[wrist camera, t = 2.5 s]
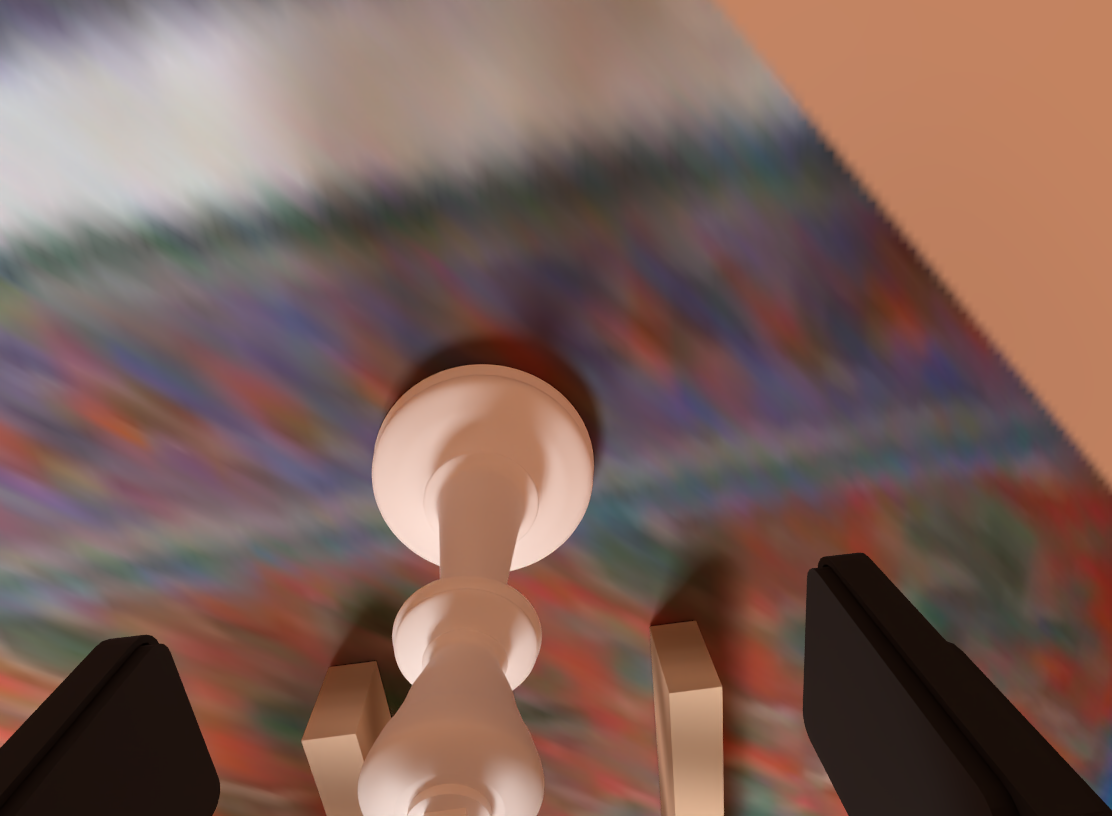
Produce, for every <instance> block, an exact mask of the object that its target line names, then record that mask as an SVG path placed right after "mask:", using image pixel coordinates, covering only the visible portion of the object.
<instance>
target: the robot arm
mask: <svg viewBox="0 0 1112 816" xmlns="http://www.w3.org/2000/svg"><path fill="white" fill-rule="evenodd" d="M803 718H804V723H805V727H806V731H807V734H808V736H809V739H810V741H811V743H812V745H813V747H814V749H815V751H816V753H817V755H818V757H819V759H820V761H821V763H822V764H823V766H824V768H825V770H826V772H827V774H828V776H829V778H830V780H831V782H832V784H833V786H834V788H835V790H836V792H837V794H838V796H839V798H840V800H841V802H842V804H843V806H844V808H845V810H846V812H847V813H848V815H849V816H1112V810H1111V809H1110V808H1109V807H1108V806H1107V805H1106V804H1105V803H1104V802H1103V800H1102V799H1101V798H1100V797H1099V796H1098V795H1097V794H1096V793H1095V792H1094V791H1093V790H1092V789H1091V788H1090V787H1089V786H1088V784H1087V783H1086V782H1085V781H1084V780H1083V779H1082V778H1081V777H1080V776H1079V775H1078V774H1077V773H1076V772H1075V771H1074V770H1073V768H1072V767H1071V766H1070V765H1069V764H1068V763H1067V762H1066V761H1065V760H1064V759H1063V758H1062V757H1061V756H1060V755H1059V754H1058V752H1057V751H1056V750H1055V749H1054V748H1053V747H1052V746H1051V745H1050V744H1049V743H1048V742H1047V741H1046V740H1045V739H1044V738H1043V736H1042V735H1041V734H1040V733H1039V732H1038V731H1037V730H1036V729H1035V728H1034V727H1033V726H1032V725H1031V724H1030V723H1029V722H1028V720H1027V719H1026V718H1025V717H1024V716H1023V715H1022V714H1021V713H1020V712H1019V711H1018V710H1017V709H1016V708H1015V707H1014V706H1013V704H1012V703H1011V702H1010V701H1009V700H1008V699H1007V698H1006V697H1005V696H1004V695H1003V694H1002V693H1001V692H1000V691H999V690H998V688H997V687H996V686H995V685H994V684H993V683H992V682H991V681H990V680H989V679H988V678H987V677H986V676H985V675H984V674H983V672H982V671H981V670H980V669H979V668H978V667H977V666H976V665H975V664H974V663H973V662H972V661H971V660H970V659H969V658H968V656H967V655H966V654H965V653H964V652H963V651H961V650H960V649H959V648H958V647H957V646H956V645H954V644H952V643H950V642H947V641H946V640H945V639H944V638H943V637H942V636H941V635H940V634H939V633H938V632H937V631H936V629H935V628H934V627H933V626H932V625H931V624H930V623H929V622H928V621H927V620H926V619H925V618H924V616H923V615H922V614H921V613H920V612H919V611H918V610H917V609H916V608H915V607H914V606H913V605H912V603H911V602H910V601H909V600H908V599H907V598H906V597H905V596H904V595H903V594H902V593H901V592H900V590H899V589H898V588H897V587H896V586H895V585H894V584H893V583H892V582H891V581H890V580H889V579H888V577H887V576H886V575H885V574H884V573H883V572H882V571H881V570H880V569H879V568H878V567H877V566H876V564H875V563H874V562H873V561H872V560H871V559H870V558H869V557H868V556H867V555H865V554H864V553H852V554H844V555H835V556H826V557H822V558H821V559H820V561H819V563H818V568H812V569H810V570H809V572H808V575H807V598H806V628H805V659H804V690H803ZM219 794H220V782H219V778H218V775H217V773H216V770H215V767H214V765H213V762H212V759H211V757H210V754H209V752H208V749H207V746H206V744H205V741H204V739H203V736H202V733H201V731H200V728H199V726H198V723H197V720H196V718H195V715H194V713H193V710H192V707H191V705H190V702H189V700H188V697H187V694H186V692H185V689H184V686H183V684H182V681H181V679H180V676H179V673H178V671H177V668H176V666H175V663H174V660H173V658H172V655H171V653H170V651H169V649H168V647H167V646H166V645H164V644H159V643H158V641H157V639H155V638H154V637H153V636H150V635H140V636H131V637H123V638H114V639H108V640H105V641H102V642H101V643H100V644H99V645H97V646H96V647H95V648H94V649H93V650H92V651H91V652H90V653H89V655H88V656H87V657H86V658H85V659H84V660H83V661H82V662H81V663H80V664H79V665H78V666H77V667H76V668H75V669H74V670H73V672H72V673H71V674H70V675H69V676H68V677H67V678H66V679H65V680H64V681H63V682H62V683H61V684H60V685H59V686H58V687H57V688H56V690H55V691H54V692H53V693H52V694H51V695H50V696H49V697H48V698H47V699H46V700H45V701H44V702H43V703H42V704H41V705H40V707H39V708H38V709H37V710H36V711H35V712H34V713H33V714H32V715H31V716H30V717H29V718H28V719H27V720H26V721H25V722H24V723H23V725H22V726H21V727H20V728H19V729H18V730H17V731H16V732H15V733H14V734H13V735H12V736H11V737H10V738H9V739H8V740H7V742H6V743H5V744H4V745H3V746H2V747H1V748H0V816H212V815H213V813H214V811H215V809H216V806H217V804H218V800H219Z"/></svg>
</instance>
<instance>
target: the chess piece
mask: <svg viewBox="0 0 1112 816" xmlns="http://www.w3.org/2000/svg"><path fill="white" fill-rule="evenodd" d="M593 472H594V457H593V449H592V444H591V440H590V437H589V434H588V431H587V429H586V427H585V424H584V422H583V421H582V419H581V417H580V415H579V414H578V412H577V411H576V410H575V408H574V407H573V406H572V404H571V403H570V402H569V401H568V400H567V399H566V398H565V397H564V396H563V395H562V394H561V393H560V392H559V391H557V390H556V389H555V388H554V387H552V386H551V385H549V384H548V383H546V382H545V381H543V380H541V379H540V378H538V377H536V376H534V375H531V374H529V373H527V372H524V371H521V370H518V369H514V368H511V367H506V366H500V365H490V364H475V365H465V366H459V367H455V368H451V369H447V370H444V371H441V372H439V373H436V374H434V375H432V376H430V377H428V378H426V379H424V380H422V381H421V382H419V383H417V384H416V385H415V386H413V387H412V388H411V389H409V390H408V391H407V392H406V393H405V394H404V395H403V396H402V397H401V398H400V399H399V400H398V401H397V402H396V403H395V404H394V406H393V407H392V408H391V410H390V411H389V412H388V414H387V416H386V417H385V419H384V421H383V423H382V425H381V428H380V430H379V433H378V436H377V439H376V443H375V449H374V456H373V463H372V485H373V491H374V495H375V499H376V502H377V505H378V508H379V510H380V512H381V514H382V516H383V518H384V520H385V522H386V523H387V525H388V526H389V528H390V529H391V530H392V532H393V533H394V534H395V535H396V537H397V538H398V539H399V540H400V541H401V542H402V543H403V544H404V545H406V546H407V547H408V548H409V549H410V550H412V551H413V552H414V553H416V554H417V555H419V556H421V557H422V558H424V559H426V560H428V561H430V562H432V563H434V564H436V565H439V566H440V579H439V580H436V581H434V582H431V583H429V584H427V585H425V586H423V587H422V588H420V589H419V590H417V591H416V592H415V593H413V594H412V595H411V596H410V597H409V598H408V599H407V600H406V601H405V603H404V604H403V605H402V607H401V608H400V610H399V612H398V614H397V616H396V618H395V621H394V625H393V631H392V641H393V647H394V653H395V658H396V662H397V664H398V667H399V669H400V671H401V672H402V674H403V675H404V677H405V678H406V679H407V680H408V681H409V682H410V683H411V684H412V686H411V688H410V690H409V692H408V694H407V697H406V699H405V700H404V702H403V703H402V705H401V706H400V708H399V709H398V711H397V712H396V714H395V715H394V716H393V717H392V718H391V719H390V720H389V722H388V723H387V724H386V725H385V727H384V728H383V730H382V731H381V733H380V735H379V736H378V738H377V739H376V741H375V742H374V744H373V746H372V747H371V749H370V751H369V753H368V755H367V757H366V759H365V761H364V763H363V766H362V768H361V772H360V775H359V780H358V800H359V805H360V808H361V811H362V814H363V816H537V814H538V812H539V810H540V807H541V804H542V801H543V796H544V788H545V782H544V773H543V768H542V764H541V760H540V757H539V754H538V752H537V749H536V746H535V744H534V741H533V739H532V736H531V734H530V732H529V730H528V728H527V726H526V725H525V723H524V722H523V720H522V718H521V715H520V713H519V711H518V708H517V706H516V702H515V698H514V694H513V691H512V690H514V689H515V688H516V687H518V686H519V685H520V684H521V683H522V682H523V681H524V680H525V679H526V678H527V676H528V675H529V674H530V672H531V670H532V668H533V666H534V664H535V662H536V658H537V656H538V654H539V651H540V647H541V642H542V629H541V624H540V620H539V617H538V615H537V613H536V611H535V609H534V607H533V606H532V605H531V603H530V602H529V601H528V600H527V599H526V598H525V597H524V596H523V595H522V594H521V593H520V592H519V591H517V590H516V589H514V588H513V587H511V586H510V585H508V584H507V581H508V577H509V572H510V571H512V570H516V569H520V568H523V567H526V566H528V565H531V564H533V563H535V562H537V561H539V560H541V559H543V558H544V557H546V556H548V555H549V554H551V553H552V552H553V551H555V550H556V549H557V548H558V547H560V546H561V545H562V544H563V543H564V542H565V541H566V540H567V539H568V538H569V537H570V535H571V534H572V533H573V532H574V530H575V529H576V528H577V526H578V525H579V523H580V521H581V520H582V518H583V516H584V514H585V512H586V509H587V507H588V504H589V501H590V497H591V492H592V486H593Z"/></svg>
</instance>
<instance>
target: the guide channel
mask: <svg viewBox="0 0 1112 816" xmlns="http://www.w3.org/2000/svg"><path fill="white" fill-rule="evenodd" d="M650 642H651V658H652V674H653V689H654V705H655V721H656V737H657V753H658V769H659V785H660V800H661V816H724V787H723V703H722V685H721V682H720V680H719V677H718V675H717V672H716V670H715V667H714V665H713V662H712V660H711V657H710V655H709V652H708V650H707V647H706V645H705V642H704V640H703V637H702V635H701V632H700V630H699V627H698V625H697V622H696V621H689V622H681V623H673V624H666V625H658V626H650ZM390 719H391V715H390V711H389V707H388V704H387V700H386V696H385V692H384V688H383V685H382V681H381V677H380V673H379V669H378V666H377V662H376V661H373V662H365V663H357V664H349V665H341V666H333V667H329V668H328V671H327V674H326V676H325V679H324V682H323V684H322V687H321V690H320V692H319V695H318V698H317V700H316V703H315V706H314V708H313V711H312V714H311V716H310V719H309V722H308V724H307V727H306V730H305V732H304V735H303V738H302V740H301V741H302V744H303V747H304V750H305V753H306V756H307V759H308V762H309V765H310V768H311V771H312V774H313V777H314V780H315V783H316V786H317V789H318V792H319V795H320V797H321V800H322V803H323V806H324V809H325V812H326V815H327V816H363V814H362V811H361V808H360V805H359V800H358V780H359V775H360V772H361V768H362V766H363V763H364V761H365V759H366V757H367V755H368V753H369V751H370V749H371V747H372V746H373V744H374V742H375V741H376V739H377V738H378V736H379V735H380V733H381V731H382V730H383V728H384V727H385V725H386V724H387V723H388V722H389V720H390Z"/></svg>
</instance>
